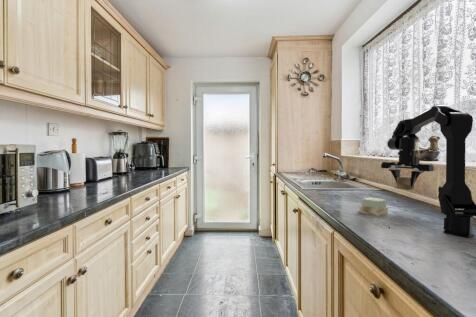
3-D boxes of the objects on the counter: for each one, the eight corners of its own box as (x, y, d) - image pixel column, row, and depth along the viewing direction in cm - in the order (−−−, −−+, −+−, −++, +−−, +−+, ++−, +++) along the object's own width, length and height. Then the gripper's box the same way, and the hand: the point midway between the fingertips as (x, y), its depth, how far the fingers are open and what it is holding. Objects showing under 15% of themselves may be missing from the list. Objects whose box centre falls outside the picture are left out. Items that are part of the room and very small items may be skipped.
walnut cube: (414, 189, 116) (414, 177, 116) (409, 190, 113) (409, 178, 113) (401, 187, 120) (401, 176, 120) (396, 188, 117) (396, 176, 117)
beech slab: (387, 214, 115) (387, 207, 115) (378, 216, 110) (378, 209, 110) (369, 210, 121) (369, 203, 121) (359, 212, 116) (359, 205, 116)
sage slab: (386, 206, 115) (386, 199, 115) (378, 208, 111) (378, 201, 111) (369, 203, 120) (370, 197, 120) (361, 205, 116) (361, 198, 116)
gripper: (439, 150, 113) (437, 187, 114) (392, 149, 128) (391, 182, 129) (429, 150, 107) (427, 189, 107) (381, 149, 122) (379, 184, 122)
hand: (405, 186), depth 117 cm, fingers closed on walnut cube, 5 cm apart
